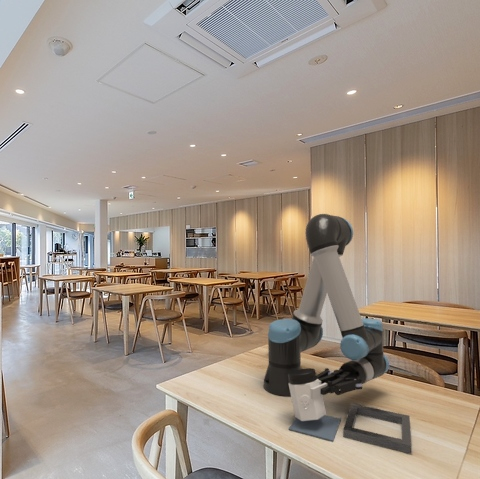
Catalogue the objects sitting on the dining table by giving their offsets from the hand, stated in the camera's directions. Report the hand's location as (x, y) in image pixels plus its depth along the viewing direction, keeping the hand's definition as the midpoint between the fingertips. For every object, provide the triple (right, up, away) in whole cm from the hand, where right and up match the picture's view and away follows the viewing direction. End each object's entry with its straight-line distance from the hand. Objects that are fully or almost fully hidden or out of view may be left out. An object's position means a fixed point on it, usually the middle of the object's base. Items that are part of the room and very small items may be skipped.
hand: (308, 392), depth 88 cm
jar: (+1, -8, +2) cm, 8 cm away
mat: (+2, -10, +2) cm, 11 cm away
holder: (+19, -10, 0) cm, 22 cm away
